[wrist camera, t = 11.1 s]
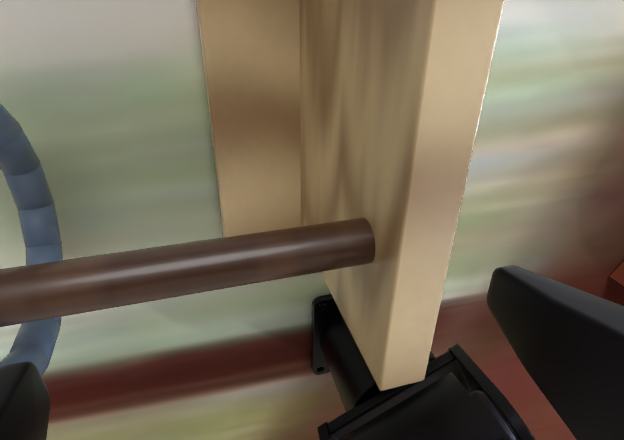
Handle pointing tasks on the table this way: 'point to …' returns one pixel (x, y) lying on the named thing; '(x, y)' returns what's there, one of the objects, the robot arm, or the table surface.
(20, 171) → the slate ring
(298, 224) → the peg rack
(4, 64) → the table surface
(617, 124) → the table surface
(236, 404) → the table surface
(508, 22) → the table surface
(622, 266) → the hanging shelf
